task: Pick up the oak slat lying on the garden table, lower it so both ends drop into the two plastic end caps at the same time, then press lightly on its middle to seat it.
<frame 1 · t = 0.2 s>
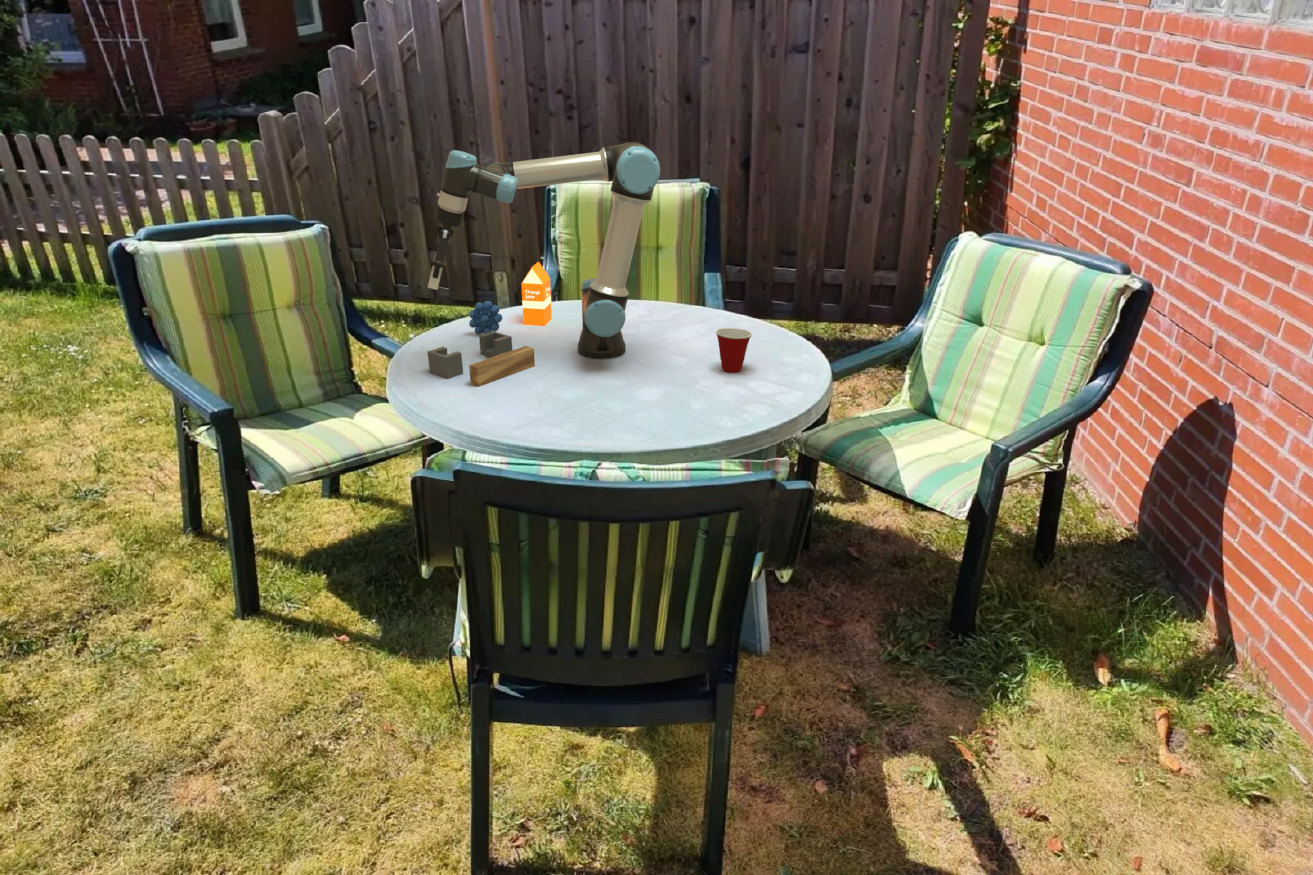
hand: (433, 281, 254), 27 cm above the table, tool tilted 20°, fingers open, 13 cm apart
grapes: (487, 335, 297), on the table
plastic cup: (732, 370, 269), on the table
orange juice: (538, 322, 311), on the table
end caps: (472, 364, 271), on the table
slat: (503, 375, 264), on the table
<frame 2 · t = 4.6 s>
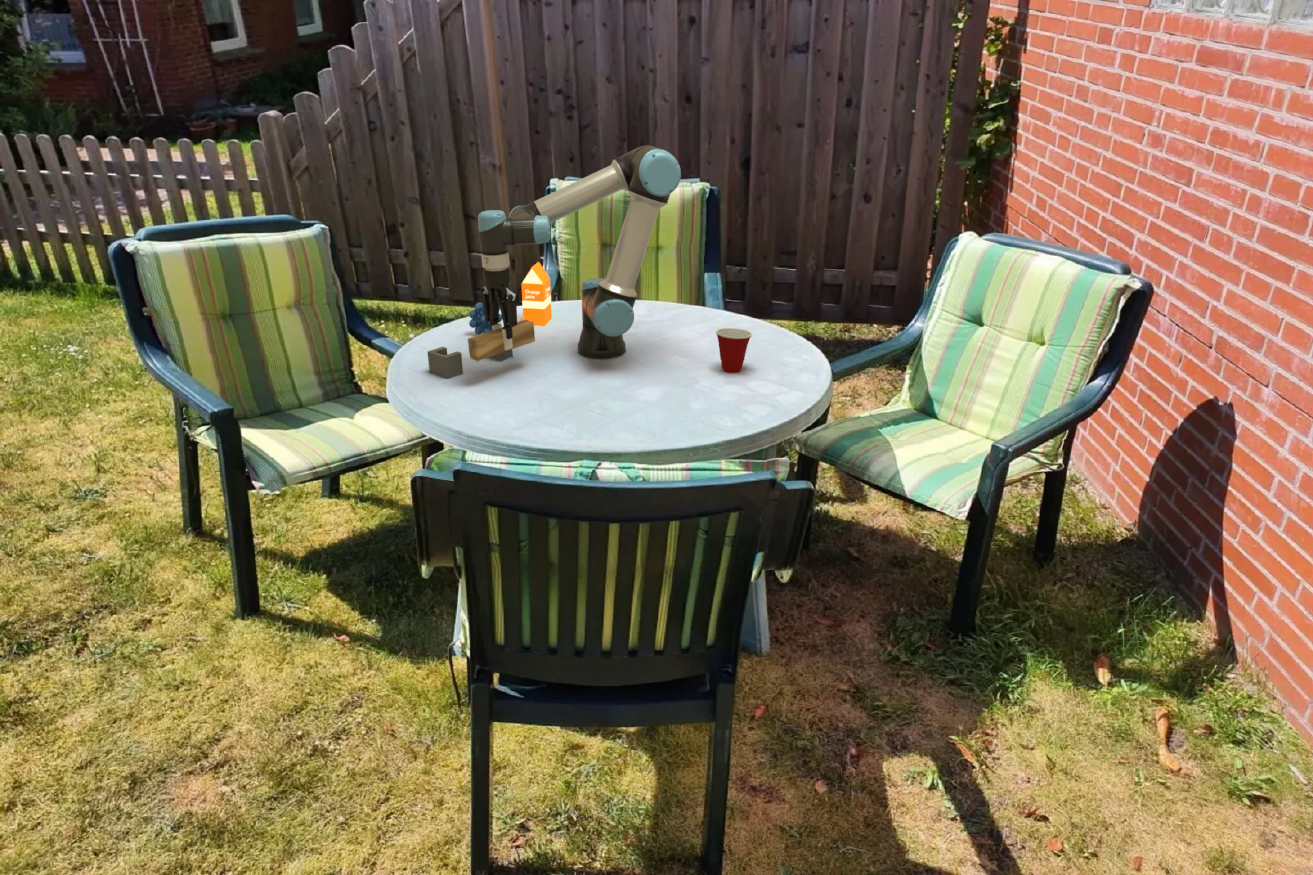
hand: (503, 347, 260), 8 cm above the table, tool pointing down, fingers closed on slat, 3 cm apart
slat: (503, 349, 260), point 8 cm above the table, touching gripper
everything else where it was.
when the fingers open (2 cm above the table, at t = 8.7 s): slat stays where it is, resting on end caps.
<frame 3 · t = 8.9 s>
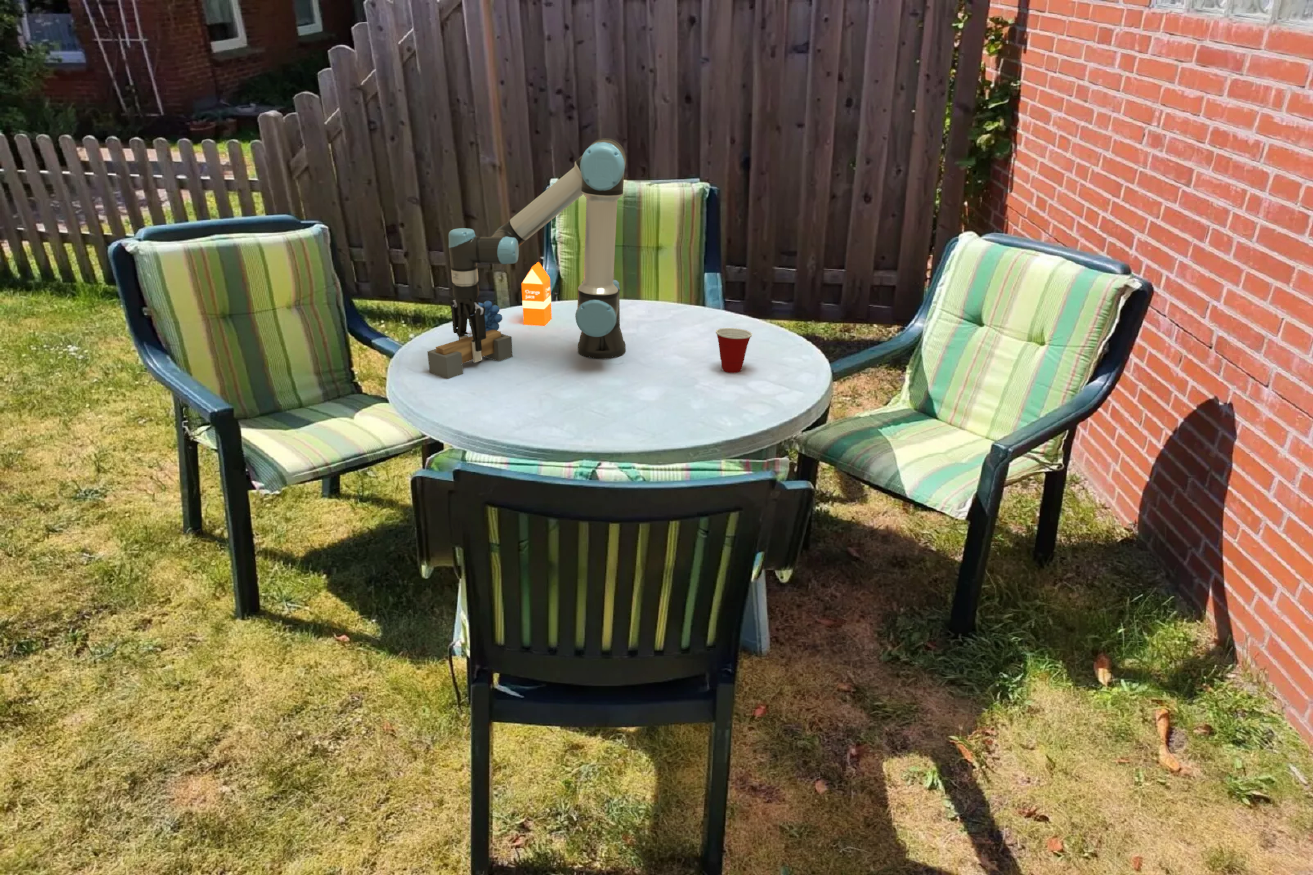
hand: (471, 358, 271), 2 cm above the table, tool pointing down, fingers open, 5 cm apart
slat: (470, 358, 270), point 2 cm above the table, touching end caps
everything else where it was.
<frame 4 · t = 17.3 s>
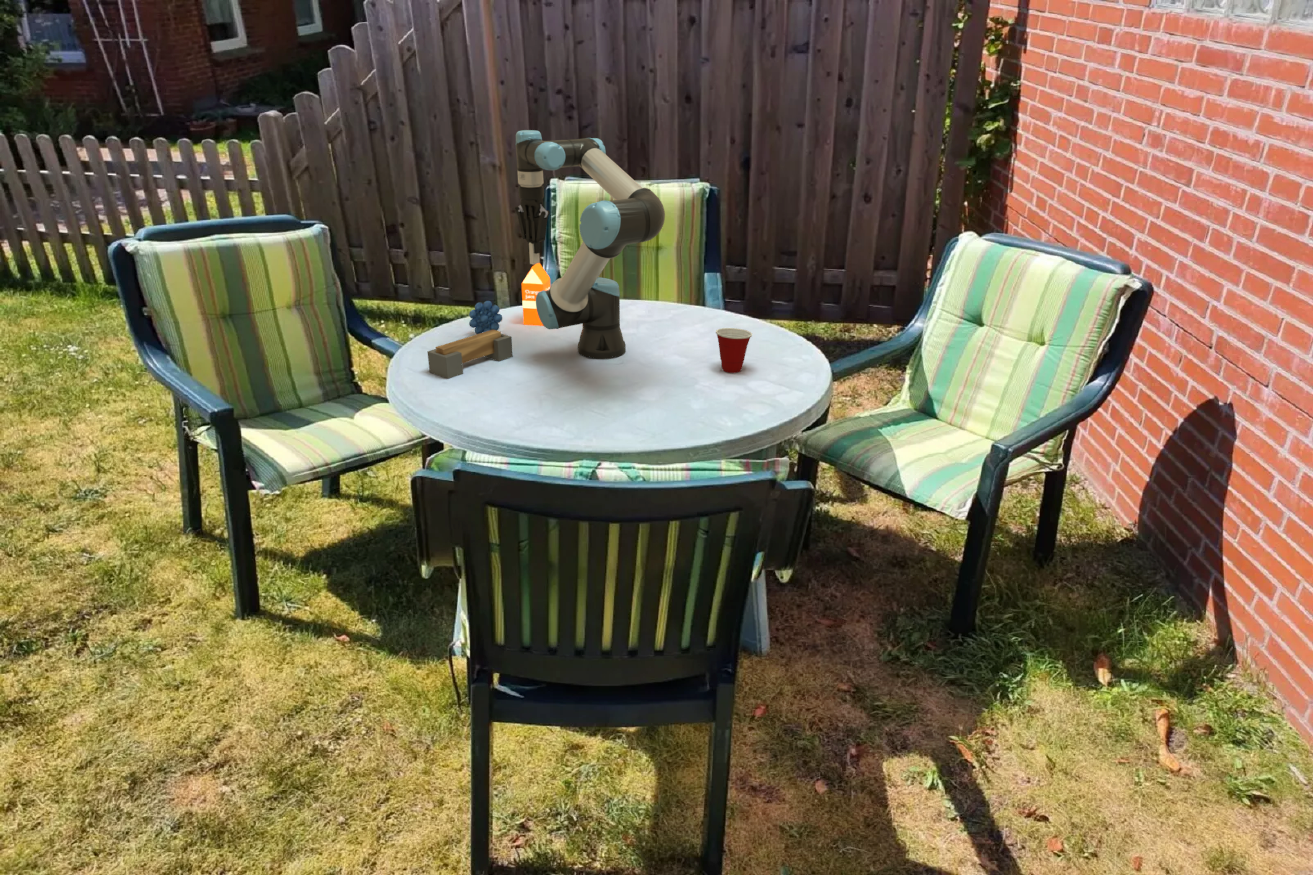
hand: (534, 263, 278), 26 cm above the table, tool pointing down, fingers closed
nothing on the table moved.
at the end: slat 0.3 cm off-centre on the end caps, point 2.0 cm above the end caps's base; slat tilted 0°; the gripper is holding nothing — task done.
